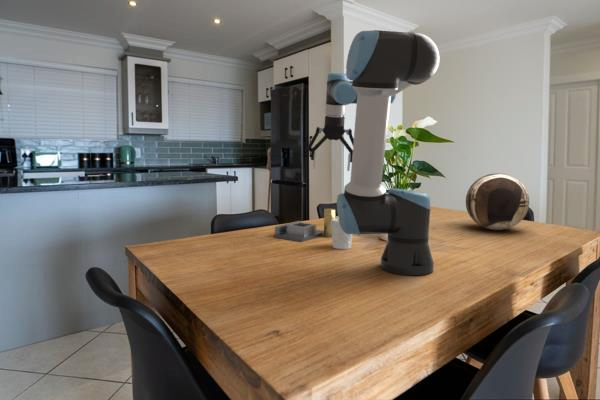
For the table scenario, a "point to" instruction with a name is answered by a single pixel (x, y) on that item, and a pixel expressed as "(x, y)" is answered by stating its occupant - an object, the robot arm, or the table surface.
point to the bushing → (328, 221)
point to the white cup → (340, 236)
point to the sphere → (497, 201)
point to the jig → (297, 231)
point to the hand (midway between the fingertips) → (331, 169)
